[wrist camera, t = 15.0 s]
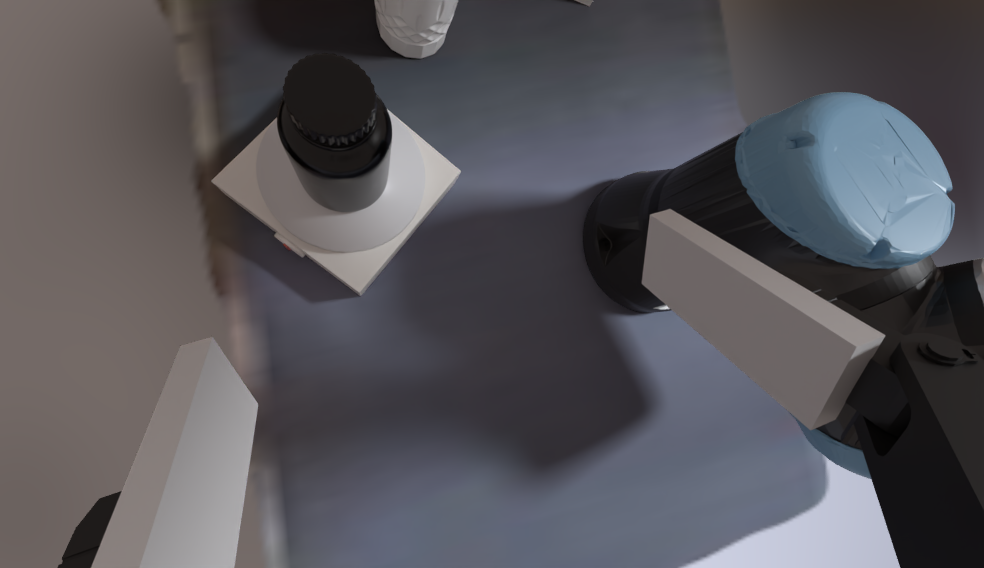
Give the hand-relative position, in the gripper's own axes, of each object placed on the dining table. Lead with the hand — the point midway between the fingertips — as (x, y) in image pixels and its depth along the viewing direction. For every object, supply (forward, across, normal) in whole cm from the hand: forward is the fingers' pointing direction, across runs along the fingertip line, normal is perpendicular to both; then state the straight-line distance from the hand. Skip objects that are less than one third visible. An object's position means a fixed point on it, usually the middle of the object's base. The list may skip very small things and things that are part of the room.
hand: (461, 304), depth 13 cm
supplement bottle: (+26, -3, -4) cm, 26 cm away
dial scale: (+29, -4, -6) cm, 30 cm away
